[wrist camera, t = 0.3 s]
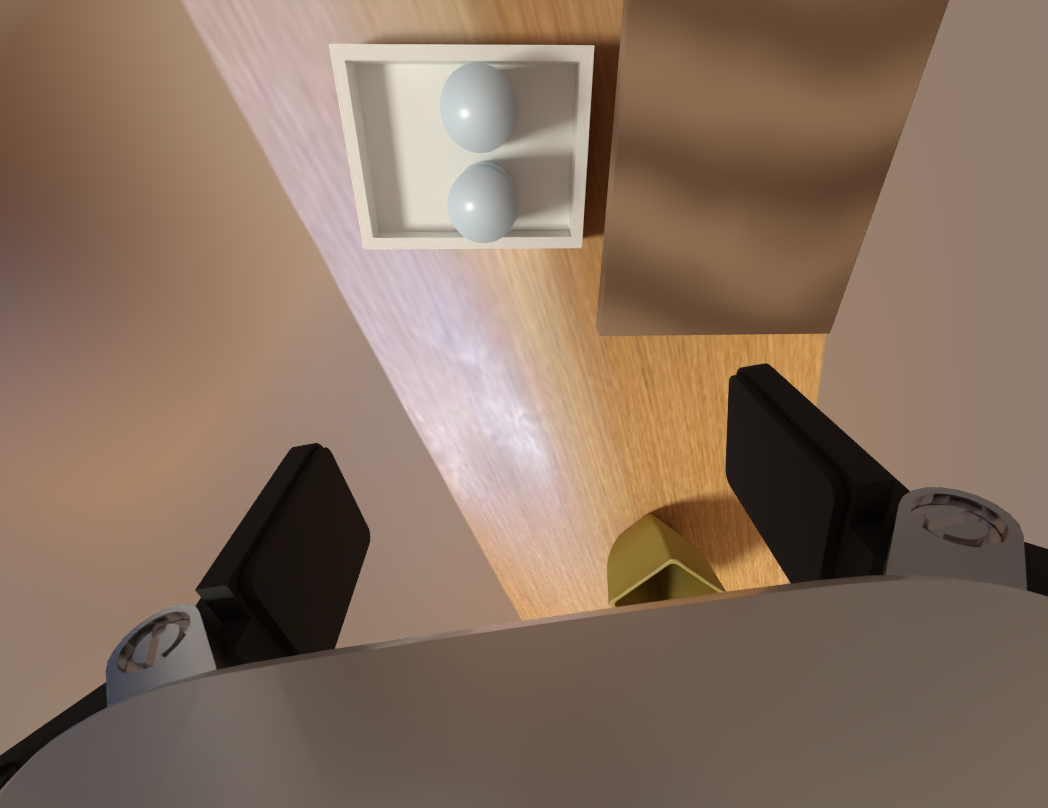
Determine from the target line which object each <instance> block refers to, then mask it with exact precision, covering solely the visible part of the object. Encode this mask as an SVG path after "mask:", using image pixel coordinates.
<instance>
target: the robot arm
mask: <svg viewBox="0 0 1048 808" xmlns="http://www.w3.org/2000/svg"><path fill="white" fill-rule="evenodd" d="M726 476H727V480H728V483H729V485H730V487H731V488H732V490H733V491H734V493H735V495H736V496H737V498H738V499H739V501H740V503H741V504H742V506H743V507H744V509H745V511H746V512H747V514H748V515H749V517H750V519H751V520H752V522H753V523H754V525H755V527H756V528H757V530H758V531H759V533H760V535H761V536H762V538H763V539H764V541H765V543H766V544H767V546H768V547H769V549H770V551H771V552H772V554H773V556H774V557H775V559H776V560H777V562H778V564H779V565H780V567H781V568H782V570H783V572H784V573H785V575H786V576H787V578H788V580H789V581H790V583H791V584H784V585H776V586H768V587H760V588H752V589H744V590H736V591H728V592H721V593H714V594H707V595H700V596H692V597H685V598H678V599H671V600H664V601H657V602H650V603H643V604H636V605H629V606H622V607H614V608H607V609H600V610H593V611H586V612H580V613H573V614H566V615H559V616H552V617H545V618H538V619H532V620H525V621H518V622H511V623H504V624H498V625H491V626H484V627H478V628H471V629H464V630H457V631H450V632H444V633H437V634H430V635H424V636H417V637H411V638H404V639H397V640H391V641H385V642H378V643H372V644H365V645H358V646H351V647H345V648H338V649H335V646H336V643H337V640H338V637H339V634H340V631H341V628H342V625H343V622H344V619H345V616H346V613H347V610H348V607H349V604H350V601H351V598H352V595H353V592H354V589H355V586H356V583H357V580H358V577H359V574H360V571H361V567H362V564H363V561H364V559H365V556H366V553H367V550H368V546H369V543H370V532H369V528H368V526H367V524H366V522H365V520H364V518H363V516H362V514H361V512H360V510H359V507H358V505H357V503H356V501H355V499H354V497H353V495H352V493H351V491H350V489H349V487H348V485H347V483H346V481H345V479H344V477H343V475H342V473H341V471H340V469H339V467H338V465H337V463H336V461H335V458H334V456H333V454H332V453H331V451H330V450H329V449H328V448H326V447H325V448H323V447H322V446H321V445H320V444H318V443H313V444H308V445H302V446H297V447H293V448H291V449H290V450H289V452H288V453H287V455H286V456H285V458H284V459H283V461H282V462H281V463H280V465H279V466H278V468H277V469H276V471H275V472H274V474H273V475H272V477H271V478H270V480H269V481H268V483H267V484H266V486H265V487H264V489H263V490H262V492H261V493H260V495H259V496H258V498H257V499H256V500H255V502H254V504H253V505H252V506H251V508H250V509H249V511H248V512H247V514H246V516H245V517H244V518H243V520H242V522H241V523H240V524H239V526H238V527H237V529H236V530H235V532H234V533H233V535H232V536H231V538H230V539H229V541H228V542H227V543H226V545H225V546H224V548H223V549H222V551H221V552H220V554H219V555H218V557H217V558H216V560H215V561H214V563H213V564H212V566H211V567H210V569H209V570H208V572H207V573H206V575H205V576H204V578H203V579H202V581H201V582H200V584H199V585H198V586H197V588H196V589H195V590H196V592H197V593H198V594H199V595H200V596H201V599H200V600H199V602H198V603H197V605H196V606H193V605H189V604H180V605H175V606H172V607H169V608H165V609H163V610H161V611H159V612H157V613H155V614H153V615H151V616H150V617H148V618H147V619H145V620H144V621H143V622H141V623H140V624H138V625H137V626H136V627H135V628H134V629H132V630H131V631H130V632H129V633H128V634H127V635H126V636H125V637H124V638H123V639H122V640H121V642H120V643H119V644H118V645H117V646H116V647H115V649H114V651H113V652H112V654H111V656H110V658H109V659H108V661H107V667H106V682H105V683H104V684H103V685H101V686H100V687H98V688H97V689H95V690H94V691H92V692H91V693H90V694H88V695H87V696H85V697H84V698H82V699H81V700H80V701H78V702H77V703H75V704H74V705H72V706H71V707H70V708H68V709H67V710H65V711H64V712H62V713H61V714H59V715H58V716H56V717H55V718H54V719H52V720H51V721H49V722H48V723H46V724H45V725H43V726H42V727H41V728H39V729H38V730H36V731H35V732H33V733H32V734H30V735H29V736H28V737H26V738H25V739H24V740H22V741H20V742H19V743H18V744H16V745H15V746H13V747H12V748H10V749H9V750H7V751H6V752H5V753H3V754H2V755H0V808H1048V549H1046V548H1042V547H1039V546H1036V545H1033V544H1029V543H1026V542H1024V536H1023V533H1022V530H1021V527H1020V525H1019V523H1018V522H1017V521H1016V520H1015V519H1014V518H1013V517H1012V516H1011V515H1010V514H1009V513H1008V512H1006V511H1005V510H1003V509H1002V508H1001V507H999V506H998V505H996V504H994V503H992V502H990V501H988V500H986V499H983V498H982V497H980V496H977V495H974V494H970V493H967V492H964V491H960V490H955V489H949V488H942V487H931V488H930V487H927V488H921V489H917V490H912V491H911V492H910V491H909V490H908V489H907V488H906V487H905V486H904V485H902V484H901V483H900V482H899V481H898V480H897V479H896V478H895V477H894V476H892V475H891V474H890V473H889V472H888V471H887V470H886V469H885V468H883V467H882V466H881V465H880V464H879V463H878V462H877V461H876V460H875V459H874V458H872V457H871V456H870V455H869V454H868V453H867V452H866V451H865V450H864V449H863V448H861V447H860V446H859V445H858V444H857V443H856V442H855V441H854V440H853V439H851V438H850V437H849V436H848V435H847V434H846V433H845V432H844V431H843V430H841V429H840V428H839V427H838V426H837V425H836V424H835V423H833V421H831V420H830V419H829V418H828V417H827V416H826V415H825V414H823V413H822V412H821V411H820V410H819V409H818V408H817V407H816V406H815V405H814V404H812V403H811V402H810V401H809V400H808V399H807V398H806V397H805V396H804V395H802V394H801V393H800V392H799V391H798V390H797V389H796V388H795V387H794V386H792V385H791V384H790V383H789V382H788V381H787V380H786V379H785V378H784V377H782V376H781V375H780V374H779V373H778V372H777V371H776V370H775V369H774V368H772V367H771V366H770V365H769V364H767V363H766V364H759V365H753V366H748V367H742V368H739V369H738V371H737V374H736V375H734V376H731V377H730V379H729V394H728V420H727V445H726Z"/></svg>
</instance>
